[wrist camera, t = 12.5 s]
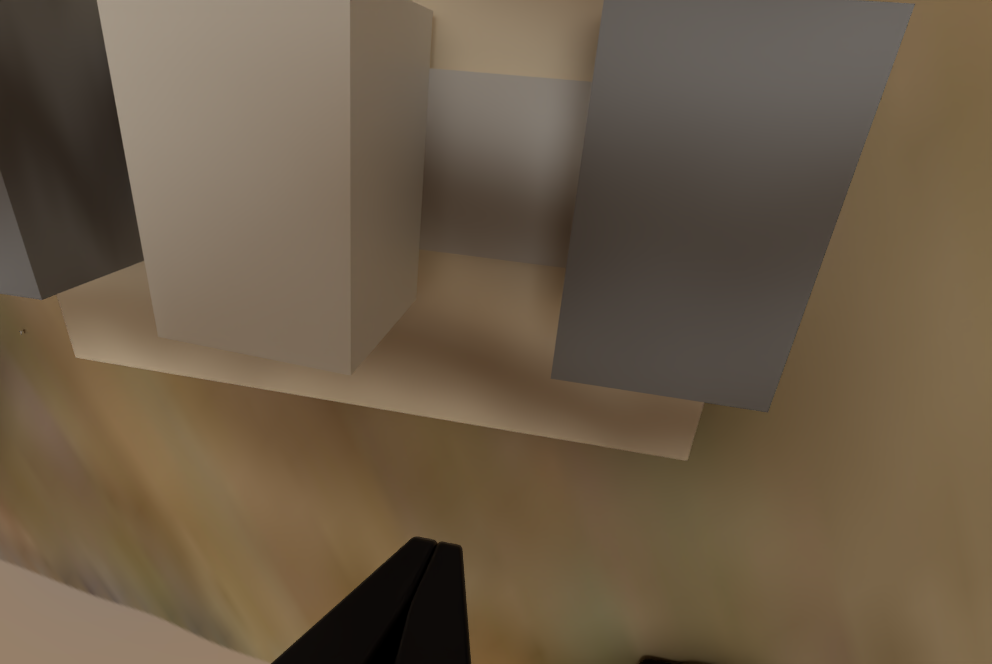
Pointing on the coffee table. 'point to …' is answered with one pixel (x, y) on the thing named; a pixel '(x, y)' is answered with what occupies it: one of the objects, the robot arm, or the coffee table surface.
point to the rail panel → (514, 208)
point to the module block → (275, 168)
